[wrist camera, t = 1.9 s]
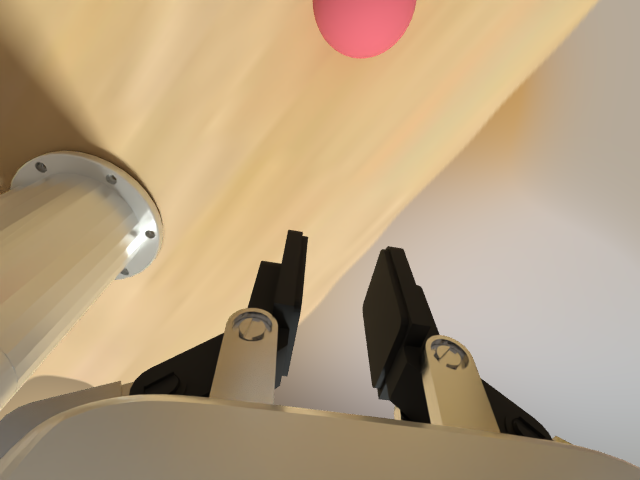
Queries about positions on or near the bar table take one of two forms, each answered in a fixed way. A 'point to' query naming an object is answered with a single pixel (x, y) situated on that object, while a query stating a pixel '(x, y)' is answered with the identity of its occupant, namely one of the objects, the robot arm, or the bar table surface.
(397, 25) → the ball
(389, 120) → the bar table surface
